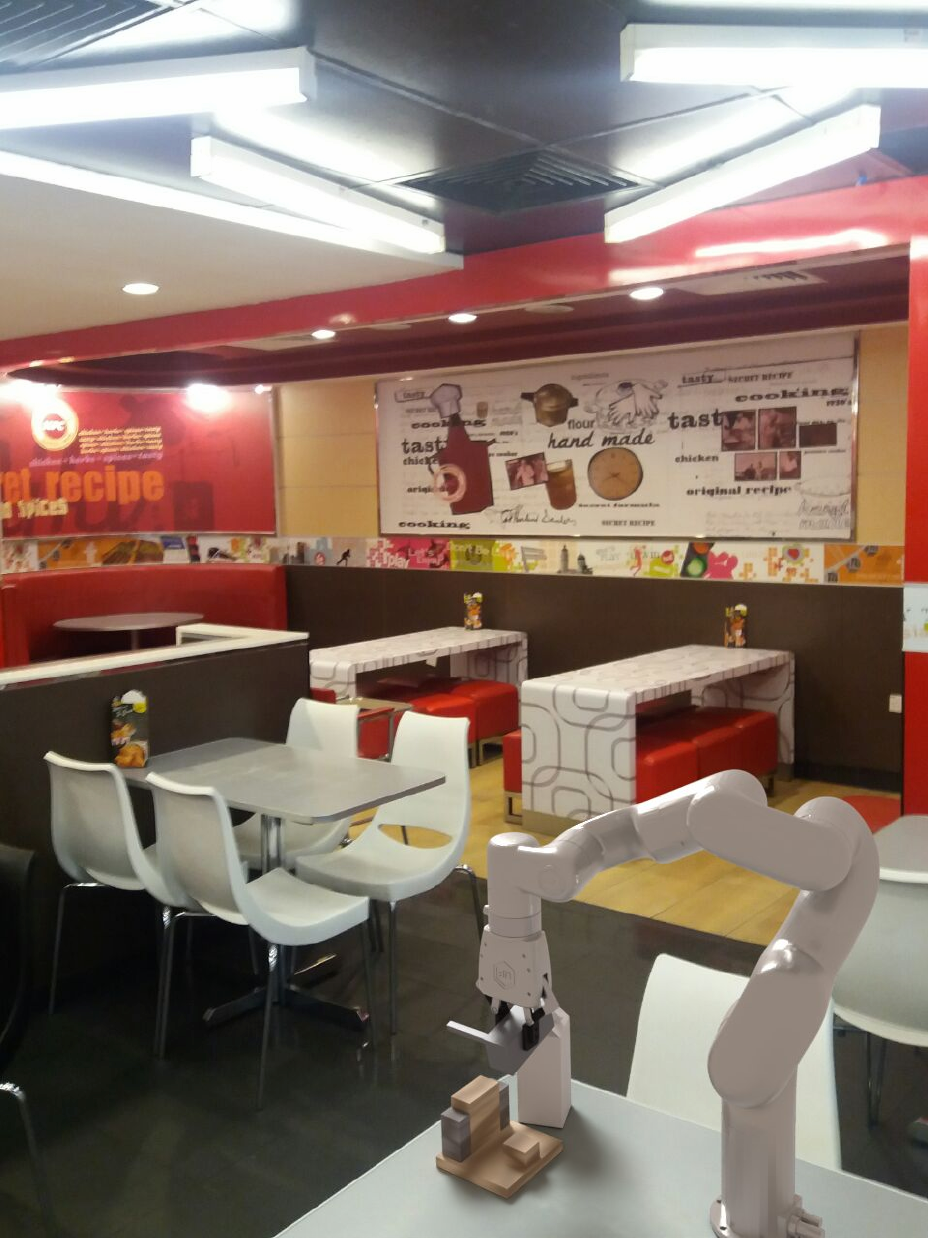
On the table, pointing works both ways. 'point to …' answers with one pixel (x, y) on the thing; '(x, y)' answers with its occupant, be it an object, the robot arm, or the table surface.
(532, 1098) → the milk carton
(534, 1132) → the stacked wooden blocks
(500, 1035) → the grey bracket
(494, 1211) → the table surface
